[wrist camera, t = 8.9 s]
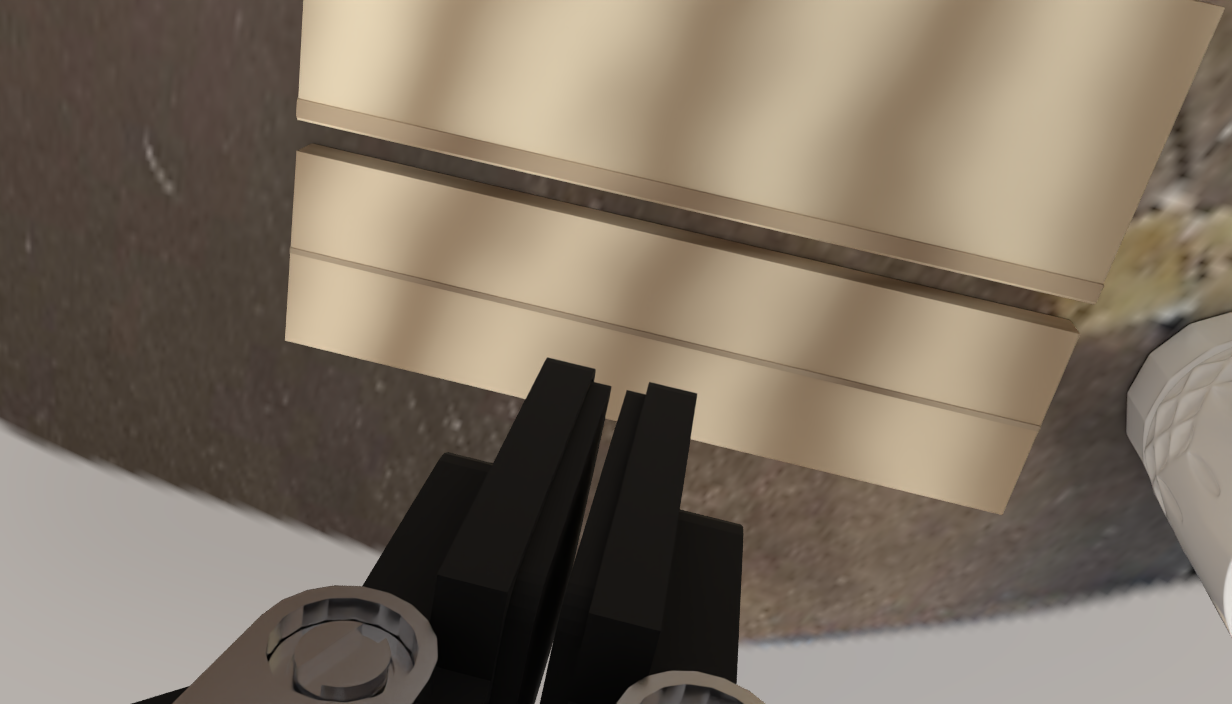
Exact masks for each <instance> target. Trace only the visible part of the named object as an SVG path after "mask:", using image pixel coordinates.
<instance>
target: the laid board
mask: <svg viewBox="0 0 1232 704" xmlns="http://www.w3.org/2000/svg"><path fill="white" fill-rule="evenodd" d="M1079 335H1080V333H1079V332H1078V330H1077V329H1076V328H1075V326H1074V325H1073V324H1072V322H1071V321H1070V320H1067V319H1063V318H1059V317H1055V316H1050V315H1046V314H1042V313H1037V312H1033V311H1029V310H1025V309H1020V308H1016V307H1012V306H1007V305H1003V304H999V303H994V302H990V301H986V300H982V299H977V298H973V297H969V296H964V295H960V294H956V293H952V292H947V291H943V290H939V289H934V288H930V287H926V286H922V285H917V284H913V283H909V282H904V281H900V280H896V279H892V278H887V277H883V276H879V275H874V274H870V273H866V272H861V271H857V270H853V269H849V268H844V267H840V266H836V265H831V264H827V263H823V262H819V261H814V260H810V259H806V258H801V257H797V256H793V255H789V254H784V253H780V252H776V251H771V250H767V249H763V248H759V247H754V246H750V245H746V244H741V243H737V242H733V241H728V240H724V239H720V238H716V237H711V236H707V235H703V234H698V233H694V232H690V231H686V230H681V229H677V228H673V227H668V226H664V225H660V224H656V223H651V222H647V221H643V220H638V219H634V218H630V217H626V216H621V215H617V214H613V213H608V212H604V211H600V210H595V209H591V208H587V207H583V206H578V205H574V204H570V203H565V202H561V201H557V200H553V199H548V198H544V197H540V196H535V195H531V194H527V193H523V192H518V191H514V190H510V189H505V188H501V187H497V186H493V185H488V184H484V183H480V182H475V181H471V180H467V179H462V178H458V177H454V176H450V175H445V174H441V173H437V172H432V171H428V170H424V169H420V168H415V167H411V166H407V165H402V164H398V163H394V162H390V161H385V160H381V159H377V158H372V157H368V156H364V155H360V154H355V153H351V152H347V151H342V150H338V149H334V148H329V147H325V146H321V145H317V144H310V145H308V146H306V147H304V148H302V149H300V150H298V151H297V155H296V171H295V187H294V204H293V220H292V236H291V247H290V269H289V285H288V302H287V318H286V334H285V341H289V342H294V343H298V344H302V345H306V346H310V347H314V348H318V349H322V350H326V351H331V352H335V353H339V354H343V355H347V356H351V357H355V358H359V359H363V360H368V361H372V362H376V363H380V364H384V365H388V366H392V367H396V368H400V369H405V370H409V371H413V372H417V373H421V374H425V375H429V376H433V377H437V378H442V379H446V380H450V381H454V382H458V383H462V384H466V385H470V386H474V387H479V388H483V389H487V390H491V391H495V392H499V393H503V394H507V395H511V396H516V397H520V398H524V399H526V397H527V395H528V393H529V391H530V389H531V387H532V385H533V384H534V382H535V380H536V378H537V376H538V374H539V372H540V370H541V368H542V366H543V364H544V362H545V360H546V358H547V357H548V358H552V359H557V360H561V361H565V362H569V363H573V364H577V365H582V366H586V367H590V368H594V369H596V373H595V380H594V382H596V383H600V384H605V385H609V386H611V393H610V398H609V403H608V407H607V412H606V417H605V418H606V419H610V420H614V421H617V420H618V417H619V414H620V411H621V407H622V404H623V401H624V397H625V394H626V391H627V390H629V391H634V392H638V393H642V394H646V392H647V388H648V384H649V382H652V383H656V384H660V385H665V386H669V387H673V388H677V389H681V390H685V391H689V392H694V393H697V400H696V406H695V413H694V419H693V426H692V432H691V439H692V440H696V441H700V442H705V443H709V444H713V445H717V446H721V447H725V448H729V449H733V450H737V451H742V452H746V453H750V454H754V455H758V456H762V457H766V458H770V459H774V460H779V461H783V462H787V463H791V464H795V465H799V466H803V467H807V468H811V469H816V470H820V471H824V472H828V473H832V474H836V475H840V476H844V477H848V478H853V479H857V480H861V481H865V482H869V483H873V484H877V485H881V486H885V487H890V488H894V489H898V490H902V491H906V492H910V493H914V494H918V495H922V496H926V497H931V498H935V499H939V500H943V501H947V502H951V503H955V504H959V505H963V506H968V507H972V508H976V509H980V510H984V511H988V512H992V513H996V514H1000V515H1003V512H1004V510H1005V508H1006V505H1007V503H1008V501H1009V498H1010V496H1011V494H1012V491H1013V489H1014V487H1015V484H1016V482H1017V480H1018V477H1019V475H1020V473H1021V470H1022V468H1023V466H1024V463H1025V461H1026V459H1027V456H1028V454H1029V452H1030V449H1031V447H1032V445H1033V442H1034V440H1035V438H1036V435H1037V433H1038V432H1039V431H1040V428H1041V424H1042V422H1043V419H1044V417H1045V415H1046V412H1047V410H1048V408H1049V405H1050V403H1051V401H1052V398H1053V396H1054V394H1055V391H1056V389H1057V387H1058V384H1059V382H1060V380H1061V377H1062V375H1063V373H1064V370H1065V368H1066V366H1067V363H1068V361H1069V359H1070V356H1071V354H1072V352H1073V349H1074V347H1075V345H1076V342H1077V340H1078V338H1079Z"/></svg>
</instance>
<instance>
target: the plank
mask: <svg viewBox="0 0 1232 704" xmlns="http://www.w3.org/2000/svg"><path fill="white" fill-rule="evenodd" d="M1224 9H1225V7H1221V6H1217V5H1214V4H1210V3H1206V2H1201V1H1197V0H304V1H303V20H302V40H301V59H300V78H299V98H298V99H297V112H296V117H297V120H302V121H306V122H310V123H315V124H319V125H323V126H327V127H332V128H336V129H340V130H345V131H349V132H353V133H358V134H362V135H366V136H371V137H375V138H379V139H383V140H388V141H392V142H396V143H401V144H405V145H409V146H414V147H418V148H422V149H427V150H431V151H435V152H440V153H444V154H448V155H452V156H457V157H461V158H465V159H470V160H474V161H478V162H483V163H487V164H491V165H496V166H500V167H504V168H508V169H513V170H517V171H521V172H526V173H530V174H534V175H539V176H543V177H547V178H552V179H556V180H560V181H564V182H569V183H573V184H577V185H582V186H586V187H590V188H595V189H599V190H603V191H608V192H612V193H616V194H620V195H625V196H629V197H633V198H638V199H642V200H646V201H651V202H655V203H659V204H664V205H668V206H672V207H677V208H681V209H685V210H689V211H694V212H698V213H702V214H707V215H711V216H715V217H720V218H724V219H728V220H733V221H737V222H741V223H745V224H750V225H754V226H758V227H763V228H767V229H771V230H776V231H780V232H784V233H789V234H793V235H797V236H801V237H806V238H810V239H814V240H819V241H823V242H827V243H832V244H836V245H840V246H845V247H849V248H853V249H858V250H862V251H866V252H870V253H875V254H879V255H883V256H888V257H892V258H896V259H901V260H905V261H909V262H914V263H918V264H922V265H926V266H931V267H935V268H939V269H944V270H948V271H952V272H957V273H961V274H965V275H970V276H974V277H978V278H982V279H987V280H991V281H995V282H1000V283H1004V284H1008V285H1013V286H1017V287H1021V288H1026V289H1030V290H1034V291H1038V292H1043V293H1047V294H1051V295H1056V296H1060V297H1064V298H1069V299H1073V300H1077V301H1082V302H1086V303H1090V304H1095V303H1097V300H1098V298H1099V296H1100V294H1101V291H1102V289H1103V287H1104V284H1103V283H1104V281H1105V279H1106V277H1107V274H1108V272H1109V270H1110V268H1111V265H1112V263H1113V261H1114V259H1115V256H1116V254H1117V252H1118V249H1119V247H1120V245H1121V243H1122V240H1123V238H1124V236H1125V234H1126V231H1127V229H1128V227H1129V225H1130V222H1131V220H1132V218H1133V215H1134V213H1135V211H1136V209H1137V206H1138V204H1139V202H1140V200H1141V197H1142V195H1143V193H1144V191H1145V188H1146V186H1147V184H1148V181H1149V179H1150V177H1151V175H1152V172H1153V170H1154V168H1155V166H1156V163H1157V161H1158V159H1159V157H1160V154H1161V152H1162V150H1163V147H1164V145H1165V143H1166V141H1167V138H1168V136H1169V134H1170V132H1171V129H1172V127H1173V125H1174V123H1175V120H1176V118H1177V116H1178V113H1179V111H1180V109H1181V107H1182V104H1183V102H1184V100H1185V98H1186V95H1187V93H1188V91H1189V89H1190V86H1191V84H1192V82H1193V79H1194V77H1195V75H1196V73H1197V70H1198V68H1199V66H1200V64H1201V61H1202V59H1203V57H1204V55H1205V52H1206V50H1207V48H1208V45H1209V43H1210V41H1211V39H1212V36H1213V34H1214V32H1215V30H1216V27H1217V25H1218V23H1219V21H1220V18H1221V16H1222V14H1223V11H1224Z"/></svg>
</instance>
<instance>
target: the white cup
mask: <svg viewBox="0 0 1232 704" xmlns="http://www.w3.org/2000/svg"><path fill="white" fill-rule="evenodd" d="M1126 434H1127V436H1128V438H1129V440H1130V441H1131V443H1132V445H1133V446H1134V448H1135V450H1136V452H1137V453H1138V455H1139V457H1140V458H1141V460H1142V462H1143V464H1144V466H1145V468H1146V470H1147V473H1148V475H1149V477H1150V480H1151V484H1152V489H1153V492H1154V494H1155V496H1156V497H1157V499H1158V501H1159V503H1160V506H1161V508H1162V510H1163V512H1164V514H1165V516H1166V518H1167V520H1168V522H1169V523H1170V525H1171V527H1172V528H1173V531H1174V533H1175V535H1176V538H1177V540H1178V542H1179V544H1180V546H1181V548H1182V549H1183V551H1184V553H1185V554H1186V556H1187V558H1188V559H1189V561H1190V563H1191V564H1192V566H1193V568H1194V570H1195V572H1196V573H1197V575H1198V577H1199V579H1200V581H1201V582H1202V584H1203V586H1204V588H1205V590H1206V592H1207V593H1208V595H1209V597H1210V599H1211V601H1212V603H1213V605H1214V606H1215V608H1216V610H1217V612H1218V614H1219V615H1220V617H1221V619H1222V621H1223V623H1224V625H1225V626H1226V628H1227V630H1228V632H1229V634H1230V636H1231V637H1232V312H1229V313H1226V314H1222V315H1219V316H1215V317H1212V318H1208V319H1205V320H1201V321H1198V322H1194V323H1191V324H1189V325H1188V326H1186V327H1185V328H1184V329H1182V330H1181V331H1180V332H1178V333H1177V334H1176V335H1174V336H1173V337H1172V338H1170V339H1169V340H1167V341H1166V342H1165V343H1163V344H1162V345H1161V346H1159V347H1158V348H1157V349H1155V350H1154V351H1153V352H1151V353H1150V354H1149V356H1148V357H1147V359H1146V361H1145V363H1144V364H1143V366H1142V368H1141V370H1140V371H1139V373H1138V375H1137V377H1136V378H1135V380H1134V382H1133V384H1132V385H1131V387H1130V389H1129V391H1128V393H1127V421H1126Z"/></svg>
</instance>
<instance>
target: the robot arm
mask: <svg viewBox="0 0 1232 704" xmlns="http://www.w3.org/2000/svg"><path fill="white" fill-rule="evenodd" d="M595 373H596V369H594V368H590V367H586V366H582V365H577V364H573V363H569V362H565V361H561V360H557V359H552V358H548V357H547V358H546V360H545V362H544V364H543V366H542V368H541V370H540V372H539V374H538V376H537V378H536V380H535V382H534V384H533V385H532V387H531V389H530V391H529V393H528V395H527V397H526V399H525V401H524V403H523V405H522V407H521V409H520V411H519V413H518V415H517V417H516V419H515V421H514V423H513V425H512V427H511V429H510V431H509V433H508V435H507V437H506V439H505V441H504V443H503V445H502V447H501V449H500V451H499V453H498V455H497V457H496V459H495V461H494V463H489V462H485V461H481V460H477V459H473V458H469V457H465V456H461V455H457V454H453V453H449V452H447V453H444V454H443V455H442V457H441V458H440V459H439V461H438V462H437V464H436V466H435V467H434V469H433V471H432V472H431V474H430V475H429V477H428V479H427V480H426V482H425V484H424V485H423V487H422V489H421V490H420V492H419V494H418V495H417V497H416V499H415V500H414V502H413V503H412V505H411V507H410V508H409V510H408V512H407V513H406V515H405V517H404V518H403V520H402V522H401V523H400V525H399V527H398V528H397V530H396V531H395V533H394V535H393V536H392V538H391V540H390V541H389V543H388V545H387V546H386V548H385V550H384V551H383V553H382V555H381V556H380V558H379V560H378V561H377V563H376V564H375V566H374V568H373V569H372V571H371V573H370V575H369V576H368V578H367V579H366V581H365V583H364V584H363V586H362V587H361V586H336V585H335V586H328V587H322V588H316V589H311V590H306V591H304V592H301V593H299V594H296V595H294V596H291V597H288V598H286V599H283V600H281V601H280V602H279V603H277V604H276V605H275V606H273V607H272V608H270V609H269V610H268V611H266V612H265V613H264V614H262V615H261V616H260V617H259V618H258V619H257V620H256V621H255V622H254V623H253V624H252V625H251V626H250V627H249V628H248V629H247V630H246V631H245V632H244V633H243V634H242V635H241V636H240V637H239V638H238V639H237V640H236V641H235V642H234V643H233V644H232V645H231V646H230V647H229V648H228V649H227V650H226V651H225V652H224V653H223V654H222V655H221V656H220V657H219V658H218V659H217V660H216V661H215V662H214V663H213V664H212V665H211V666H210V667H209V668H208V669H207V670H205V672H203V673H202V674H201V675H200V676H199V677H198V678H197V679H196V680H195V682H193V684H191V685H190V686H188V687H185V688H182V689H179V690H175V691H172V692H169V693H165V694H162V695H159V696H155V697H153V698H149V699H146V700H142V701H139V702H136V703H132V704H534V703H535V700H536V697H537V694H538V690H539V687H540V684H541V680H542V677H543V674H544V670H545V667H546V663H547V660H548V657H549V654H550V650H551V647H552V650H551V654H550V660H549V664H548V668H547V673H546V678H545V682H544V687H543V692H542V696H541V701H540V704H765V703H764V702H763V701H761V700H760V699H759V698H757V697H756V696H755V695H754V694H753V693H751V692H750V691H748V690H746V689H744V688H742V687H740V686H738V685H736V683H737V662H738V640H739V618H740V597H741V575H742V553H743V526H742V525H740V524H736V523H732V522H728V521H724V520H720V519H716V518H712V517H708V516H704V515H700V514H696V513H692V512H688V511H684V510H680V504H681V497H682V491H683V484H684V478H685V471H686V465H687V458H688V452H689V445H690V439H691V432H692V426H693V419H694V413H695V406H696V400H697V393H694V392H689V391H685V390H681V389H677V388H673V387H669V386H665V385H660V384H656V383H652V382H649V384H648V388H647V392H646V394H642V393H638V392H634V391H629V390H627V391H626V394H625V397H624V401H623V404H622V407H621V411H620V414H619V417H618V420H617V424H616V427H615V430H614V434H613V437H612V440H611V443H610V447H609V450H608V453H607V457H606V460H605V463H604V467H603V470H602V473H601V476H600V480H599V483H598V486H597V490H596V493H595V496H594V500H593V503H592V506H591V509H590V513H589V516H588V519H587V523H586V526H585V529H584V532H583V536H582V539H581V542H580V546H579V549H578V552H577V556H576V559H575V554H576V550H577V545H578V540H579V536H580V531H581V527H582V522H583V518H584V513H585V508H586V504H587V499H588V495H589V490H590V485H591V481H592V476H593V472H594V467H595V462H596V458H597V453H598V449H599V444H600V440H601V435H602V430H603V426H604V421H605V417H606V412H607V407H608V403H609V398H610V393H611V386H609V385H605V384H600V383H596V382H594V380H595ZM574 559H575V562H574ZM573 563H574V565H573ZM572 568H573V569H572ZM553 640H554V641H553ZM552 644H553V645H552Z"/></svg>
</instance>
